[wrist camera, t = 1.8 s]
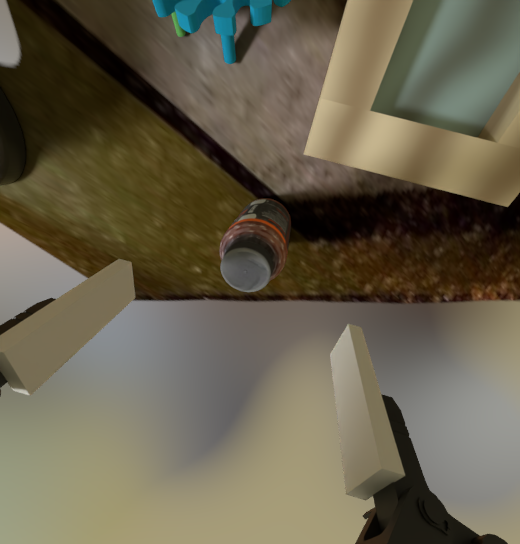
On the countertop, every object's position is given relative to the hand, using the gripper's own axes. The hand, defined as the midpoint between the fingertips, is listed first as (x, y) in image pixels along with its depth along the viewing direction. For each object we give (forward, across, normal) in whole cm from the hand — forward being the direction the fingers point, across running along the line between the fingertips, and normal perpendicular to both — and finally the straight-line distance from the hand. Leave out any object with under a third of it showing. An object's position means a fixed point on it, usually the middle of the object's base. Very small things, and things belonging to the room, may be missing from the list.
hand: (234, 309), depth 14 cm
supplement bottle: (+16, 0, 0) cm, 16 cm away
